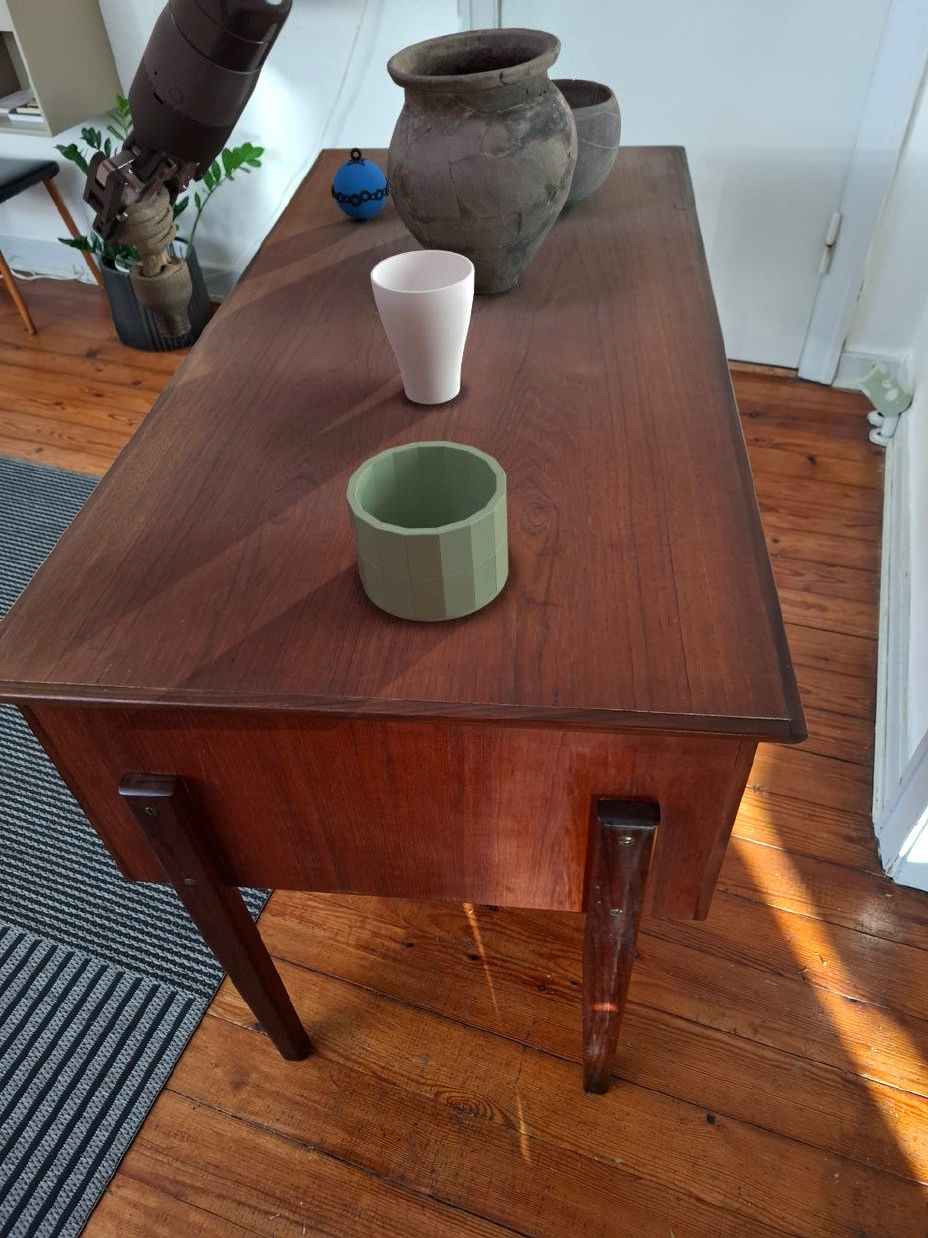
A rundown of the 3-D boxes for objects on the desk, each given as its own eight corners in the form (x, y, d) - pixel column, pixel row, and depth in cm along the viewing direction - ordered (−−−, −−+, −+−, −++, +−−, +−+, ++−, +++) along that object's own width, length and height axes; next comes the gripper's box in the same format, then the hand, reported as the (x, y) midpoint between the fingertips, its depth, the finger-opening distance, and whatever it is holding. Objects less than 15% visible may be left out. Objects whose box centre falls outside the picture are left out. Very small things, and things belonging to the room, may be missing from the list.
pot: (387, 639, 71) (373, 552, 65) (345, 548, 80) (329, 463, 73) (532, 595, 74) (531, 508, 68) (476, 512, 82) (471, 427, 76)
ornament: (394, 207, 141) (387, 138, 134) (387, 227, 135) (379, 156, 128) (341, 208, 142) (331, 140, 135) (331, 229, 136) (321, 158, 129)
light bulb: (204, 351, 83) (158, 180, 73) (145, 358, 83) (90, 187, 73) (209, 325, 87) (165, 159, 77) (152, 331, 87) (101, 166, 77)
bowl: (604, 174, 147) (610, 70, 137) (629, 221, 132) (637, 107, 121) (478, 184, 147) (473, 80, 136) (488, 232, 132) (484, 119, 121)
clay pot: (574, 292, 123) (568, 44, 114) (589, 277, 99) (582, -39, 90) (406, 303, 124) (388, 60, 116) (381, 291, 100) (356, -18, 92)
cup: (463, 421, 94) (455, 296, 85) (371, 409, 97) (353, 287, 87) (491, 372, 101) (487, 253, 92) (404, 363, 104) (392, 246, 94)
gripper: (224, 13, 69) (155, 163, 82) (86, 56, 60) (33, 216, 73) (291, 95, 71) (213, 229, 84) (166, 148, 62) (100, 289, 75)
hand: (129, 222), depth 78 cm, fingers closed on light bulb, 5 cm apart
